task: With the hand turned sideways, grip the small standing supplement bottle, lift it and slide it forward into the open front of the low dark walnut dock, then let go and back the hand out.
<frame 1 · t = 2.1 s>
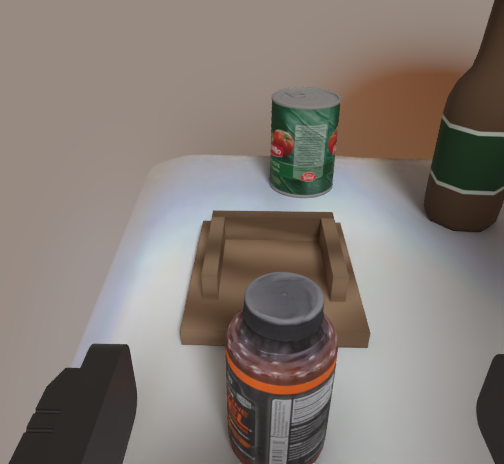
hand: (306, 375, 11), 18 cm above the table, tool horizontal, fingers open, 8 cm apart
supplement bottle: (276, 438, 30), on the table
beer bottle: (457, 217, 53), on the table
walnut dock: (272, 281, 43), on the table
canned tomato: (300, 185, 60), on the table
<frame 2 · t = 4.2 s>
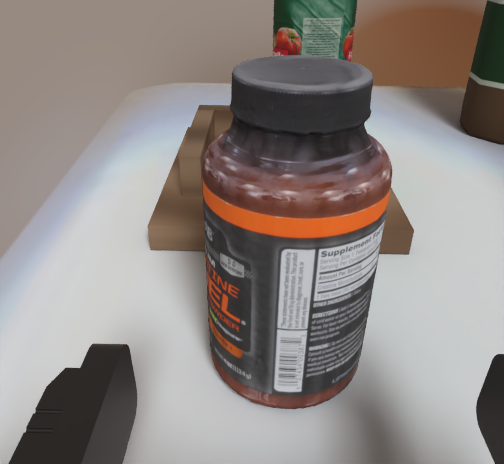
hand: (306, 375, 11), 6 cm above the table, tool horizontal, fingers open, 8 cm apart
supplement bottle: (283, 359, 19), on the table
beer bottle: (502, 134, 43), on the table
walnut dock: (275, 187, 33), on the table
canned tomato: (308, 107, 50), on the table
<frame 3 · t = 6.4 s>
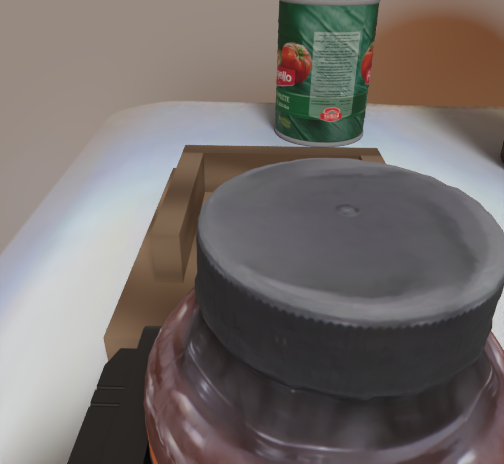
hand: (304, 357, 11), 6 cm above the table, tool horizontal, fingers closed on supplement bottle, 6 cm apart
walnut dock: (281, 255, 26), on the table
canned tomato: (317, 133, 43), on the table
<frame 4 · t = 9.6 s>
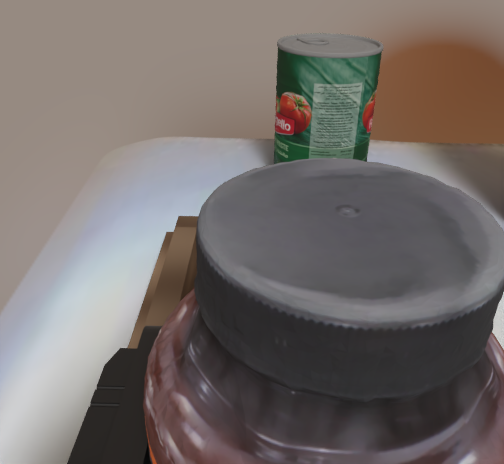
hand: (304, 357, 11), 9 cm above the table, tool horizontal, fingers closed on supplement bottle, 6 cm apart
walnut dock: (278, 341, 24), on the table
canned tomato: (317, 178, 42), on the table
when the fingers open (9 cm above the table, at t = 12.8 s): supplement bottle drops 2 cm, resting on walnut dock.
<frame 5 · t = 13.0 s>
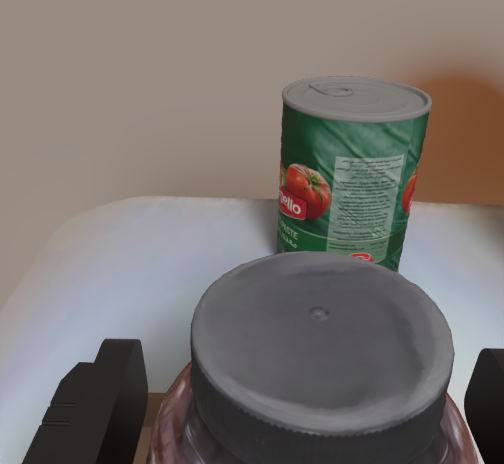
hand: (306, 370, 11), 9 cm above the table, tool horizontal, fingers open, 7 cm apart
canned tomato: (335, 264, 31), on the table
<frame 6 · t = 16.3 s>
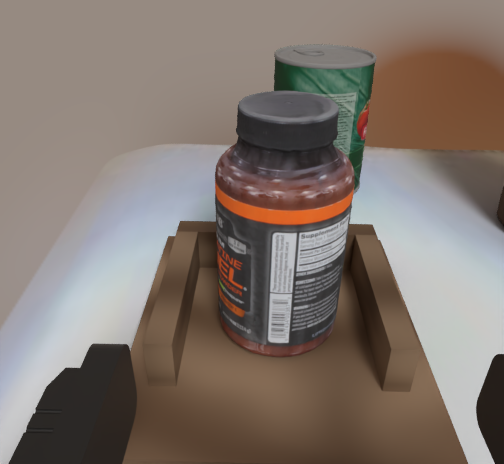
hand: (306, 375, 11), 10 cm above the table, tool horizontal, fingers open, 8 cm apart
supplement bottle: (276, 324, 25), point 1 cm above the table, touching walnut dock
walnut dock: (275, 340, 25), on the table
canned tomato: (314, 184, 43), on the table
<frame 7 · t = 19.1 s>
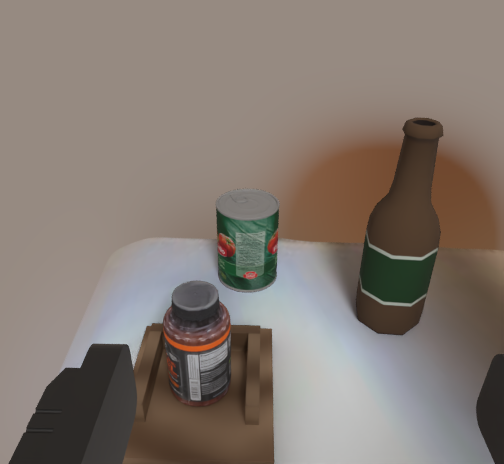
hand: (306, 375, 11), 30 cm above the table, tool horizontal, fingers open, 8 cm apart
supplement bottle: (200, 386, 46), point 1 cm above the table, touching walnut dock
beer bottle: (385, 316, 58), on the table
walnut dock: (201, 394, 47), on the table
canned tomato: (247, 275, 65), on the table
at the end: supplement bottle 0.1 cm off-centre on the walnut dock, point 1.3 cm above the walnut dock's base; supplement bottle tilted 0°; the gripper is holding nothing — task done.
